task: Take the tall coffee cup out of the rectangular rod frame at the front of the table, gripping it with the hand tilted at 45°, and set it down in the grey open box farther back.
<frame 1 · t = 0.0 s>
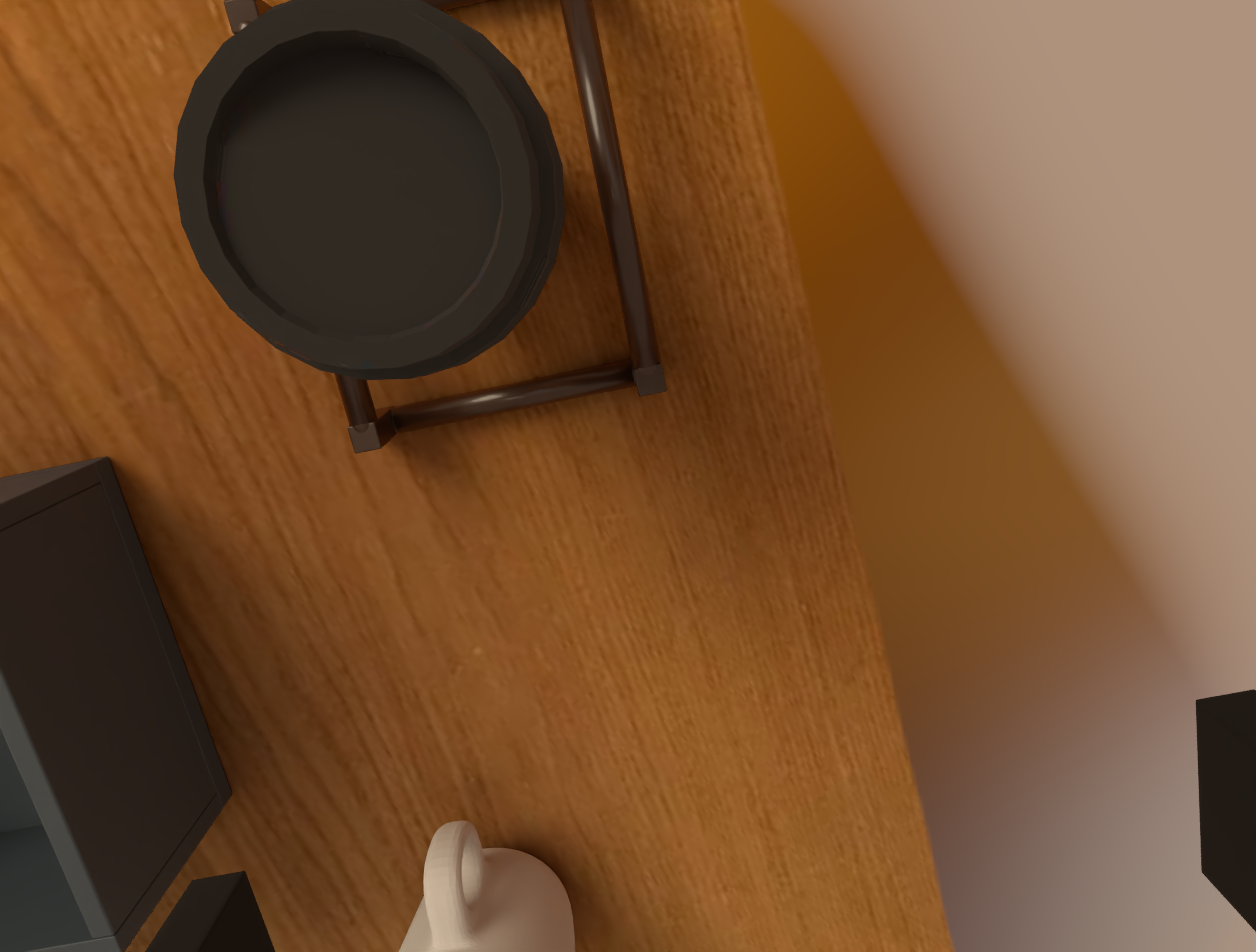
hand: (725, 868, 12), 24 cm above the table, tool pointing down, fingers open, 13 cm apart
coffee cup: (472, 209, 33), on the table
cup: (493, 868, 40), on the table
rectangular rod frame: (471, 209, 33), on the table
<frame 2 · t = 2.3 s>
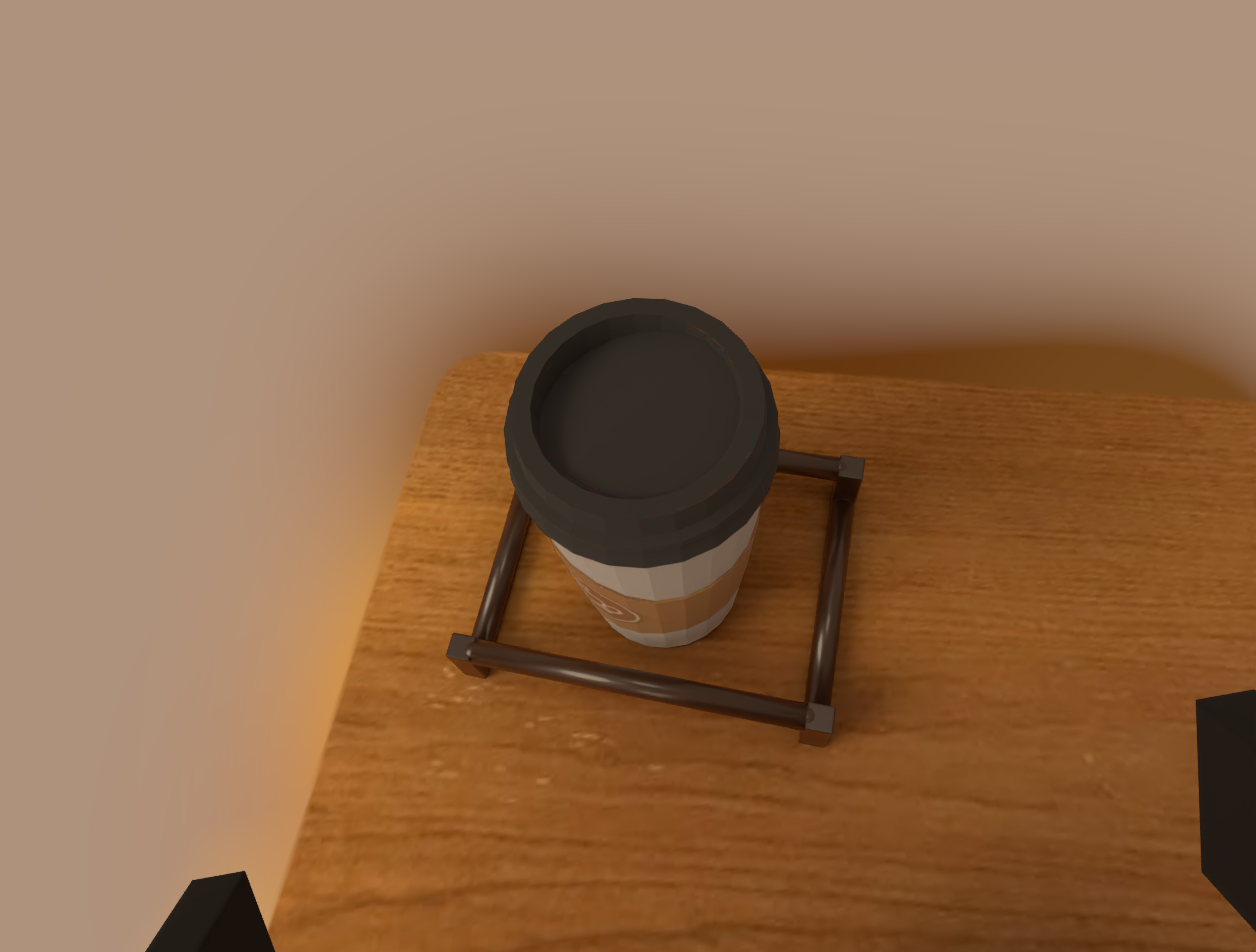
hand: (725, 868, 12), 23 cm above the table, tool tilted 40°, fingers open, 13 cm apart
coffee cup: (665, 580, 39), on the table
rectangular rod frame: (665, 579, 39), on the table
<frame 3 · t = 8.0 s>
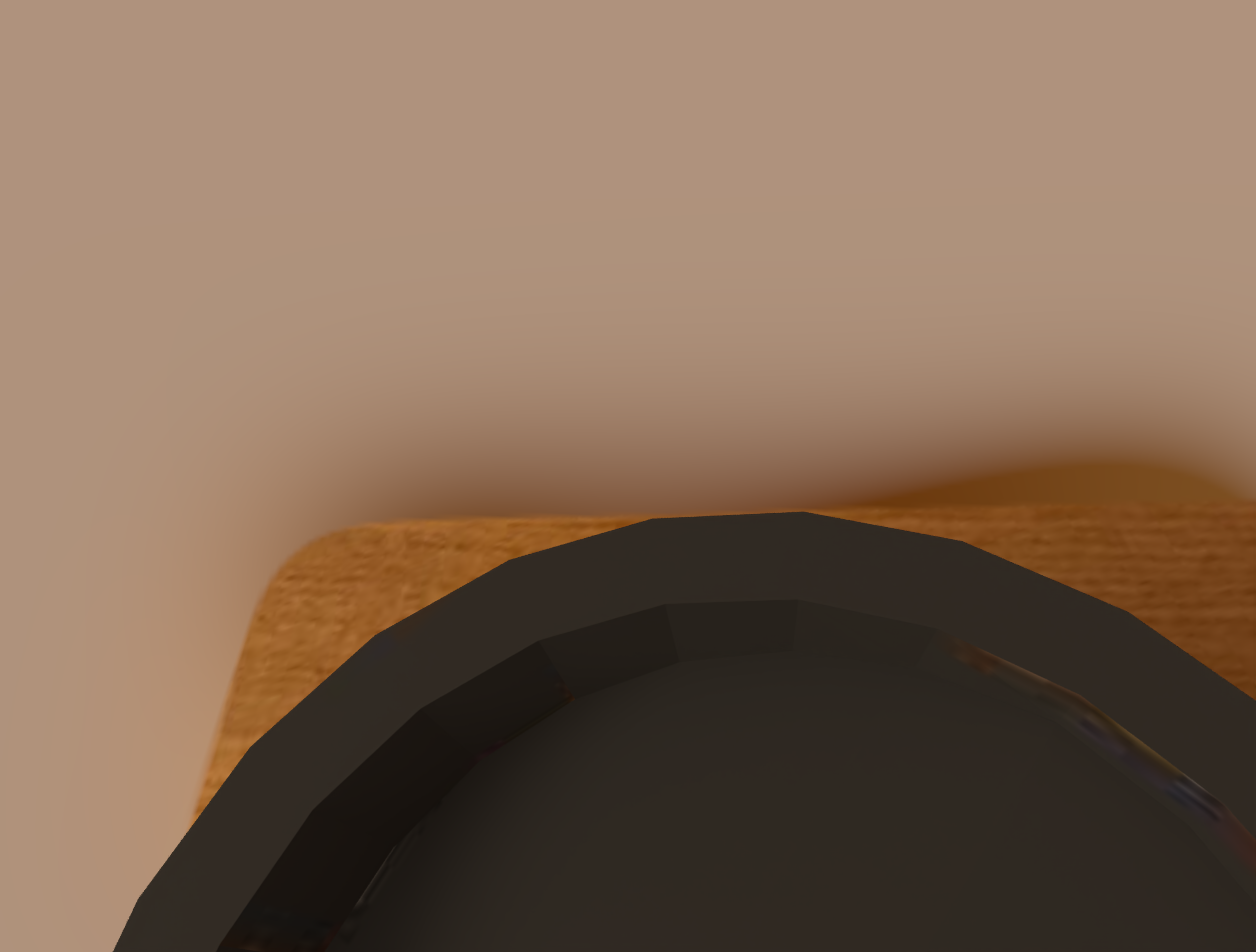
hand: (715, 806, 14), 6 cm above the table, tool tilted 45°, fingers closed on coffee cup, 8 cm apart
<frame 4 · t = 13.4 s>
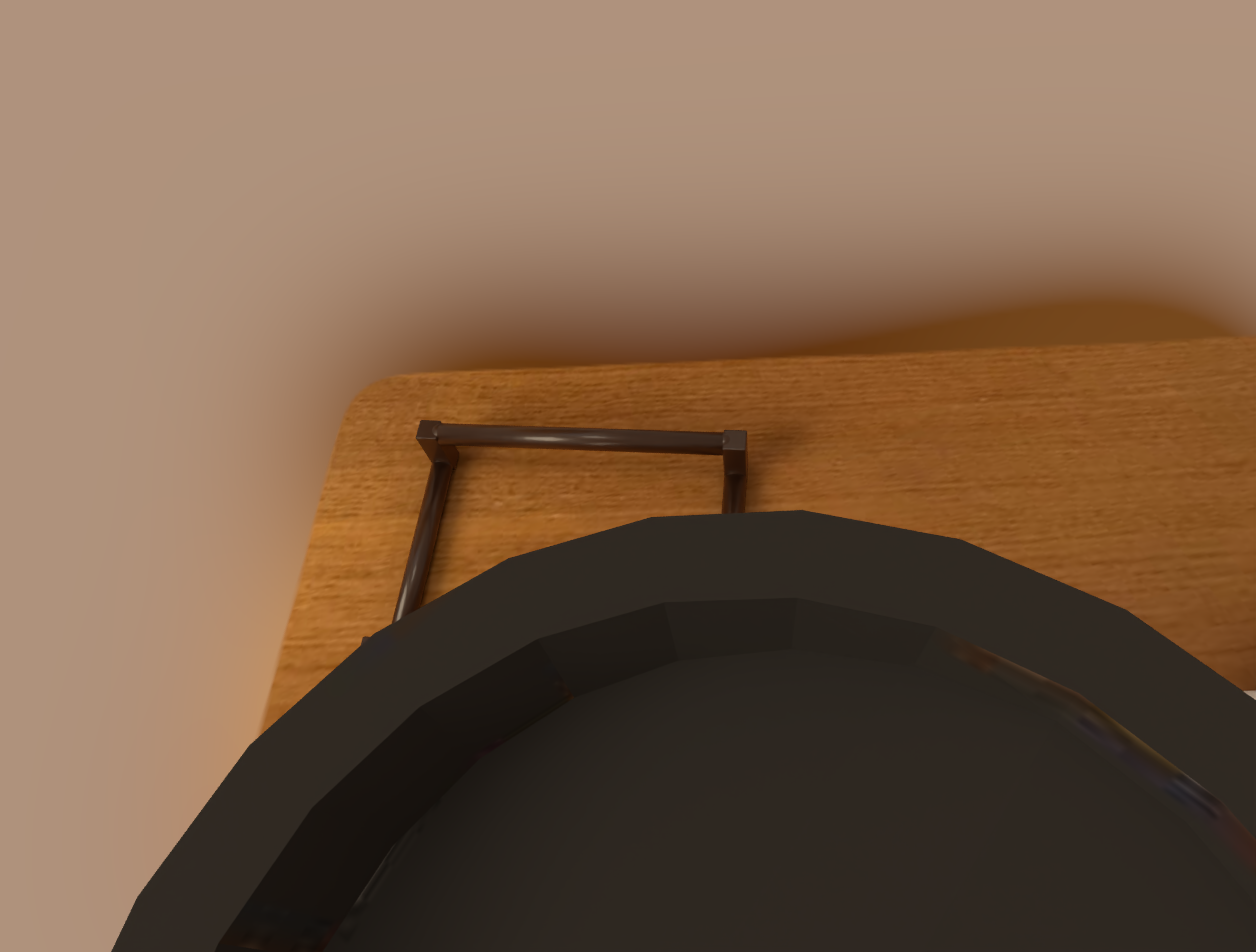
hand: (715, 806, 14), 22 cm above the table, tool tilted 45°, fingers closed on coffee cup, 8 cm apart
rectangular rod frame: (572, 568, 40), on the table
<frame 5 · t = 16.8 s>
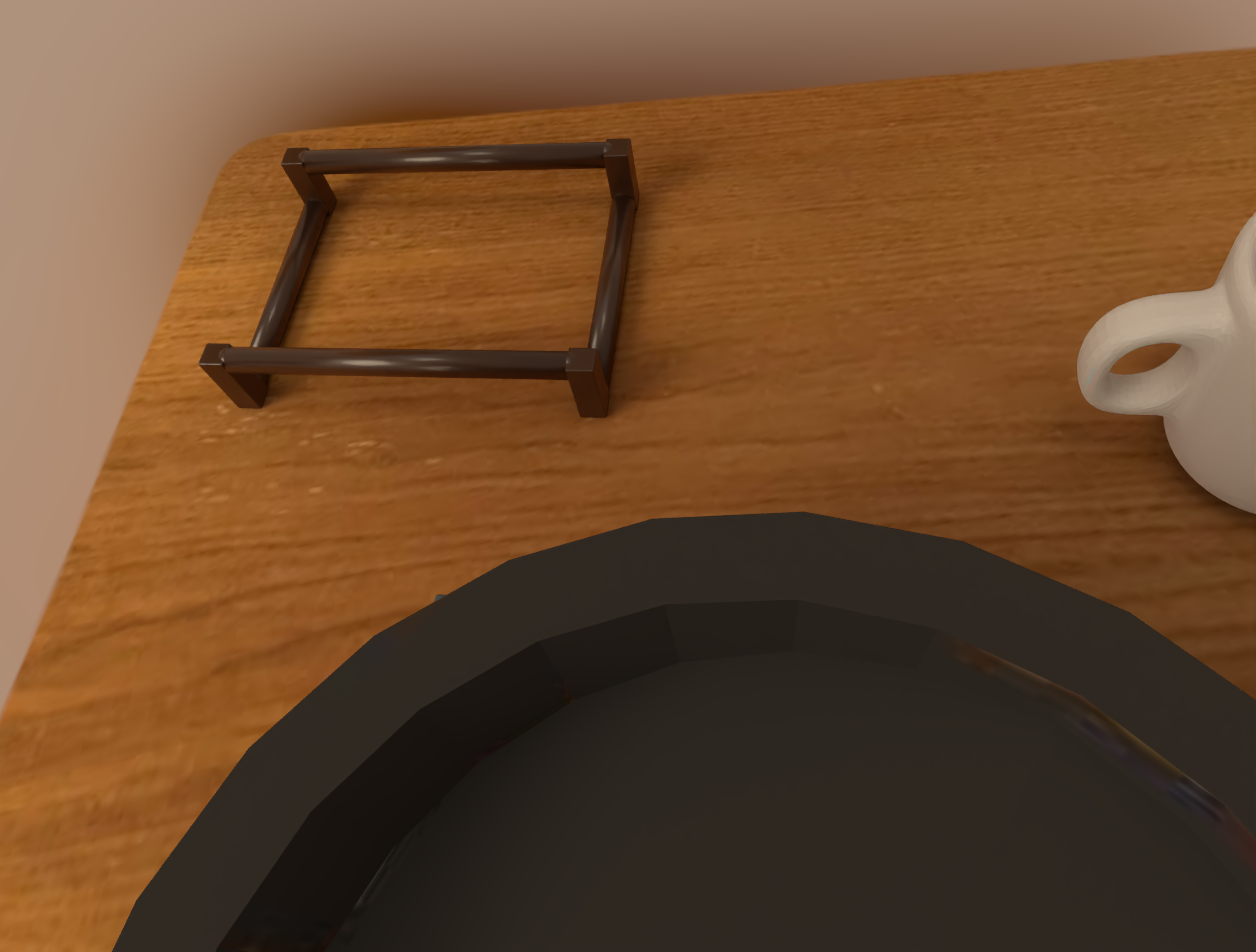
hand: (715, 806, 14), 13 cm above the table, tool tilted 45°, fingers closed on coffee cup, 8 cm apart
cup: (1211, 444, 30), on the table
rectangular rod frame: (446, 297, 37), on the table
when the fingers open (8 cm above the table, at t = 19.8 s): coffee cup stays where it is, resting on grey open box.
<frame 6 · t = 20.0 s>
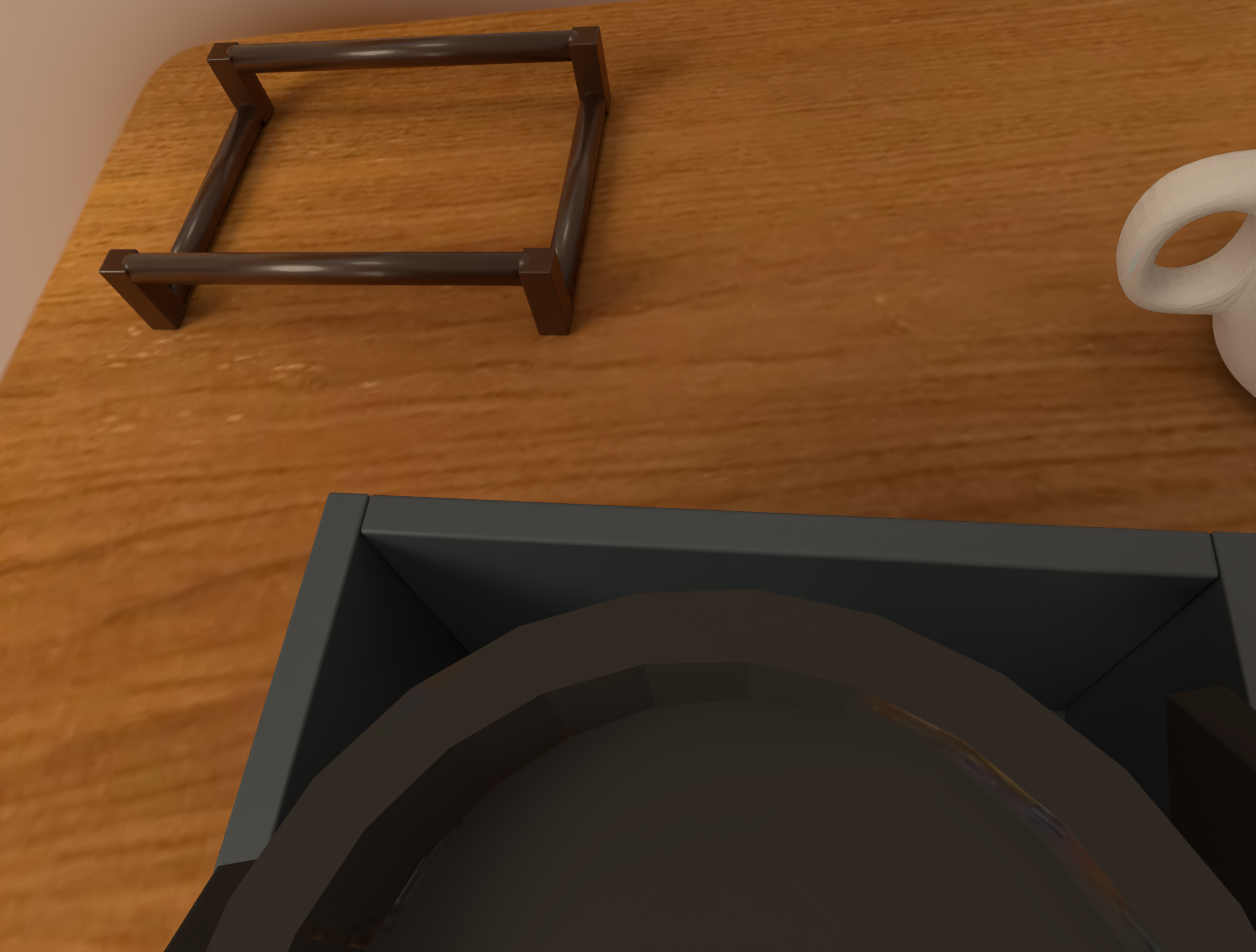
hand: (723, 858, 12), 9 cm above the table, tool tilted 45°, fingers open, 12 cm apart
rectangular rod frame: (391, 208, 33), on the table
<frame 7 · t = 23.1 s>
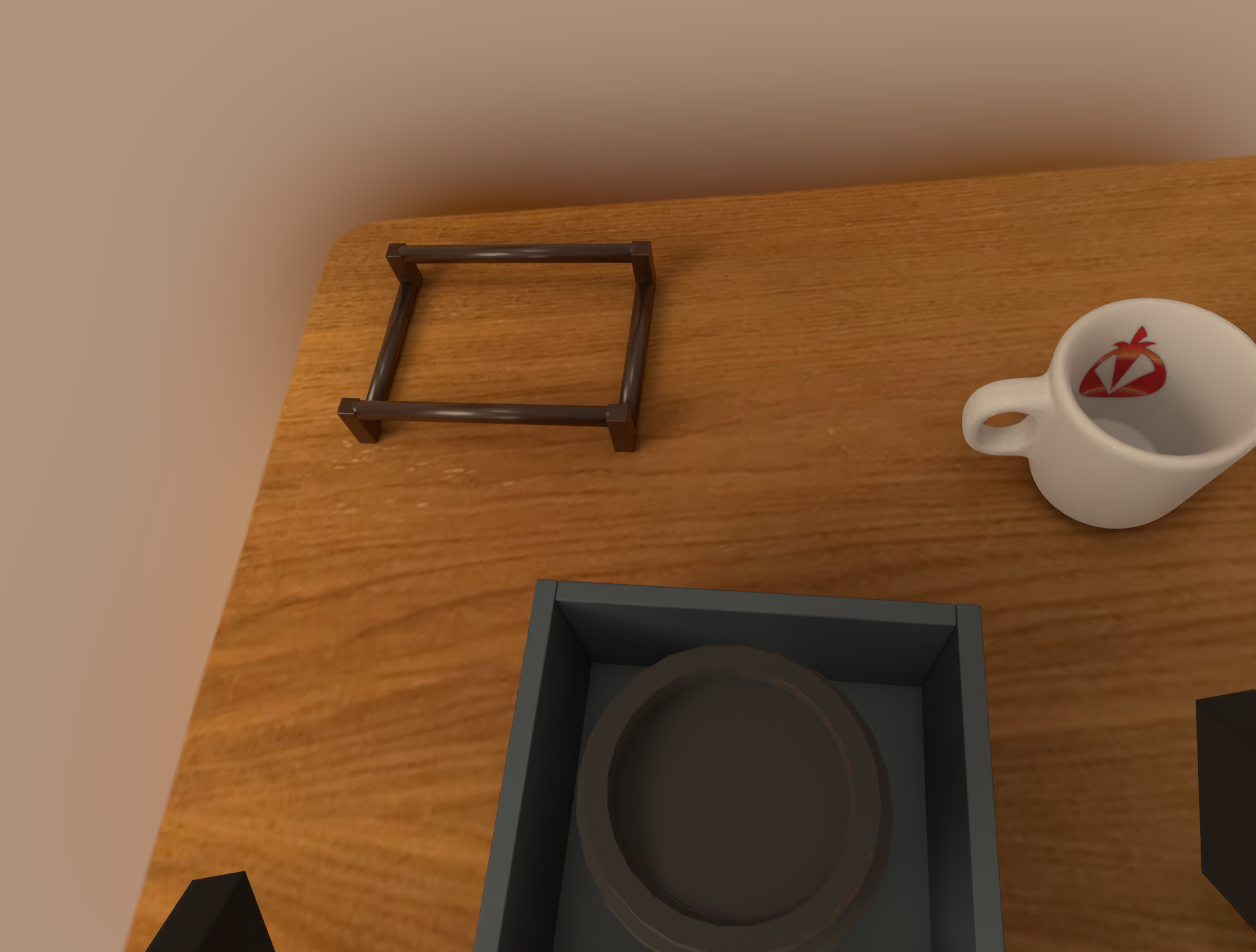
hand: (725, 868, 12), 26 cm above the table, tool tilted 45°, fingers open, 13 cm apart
coffee cup: (743, 852, 35), point 1 cm above the table, touching grey open box
cup: (1064, 474, 42), on the table
grey open box: (743, 852, 36), on the table
rectangular rod frame: (512, 358, 49), on the table
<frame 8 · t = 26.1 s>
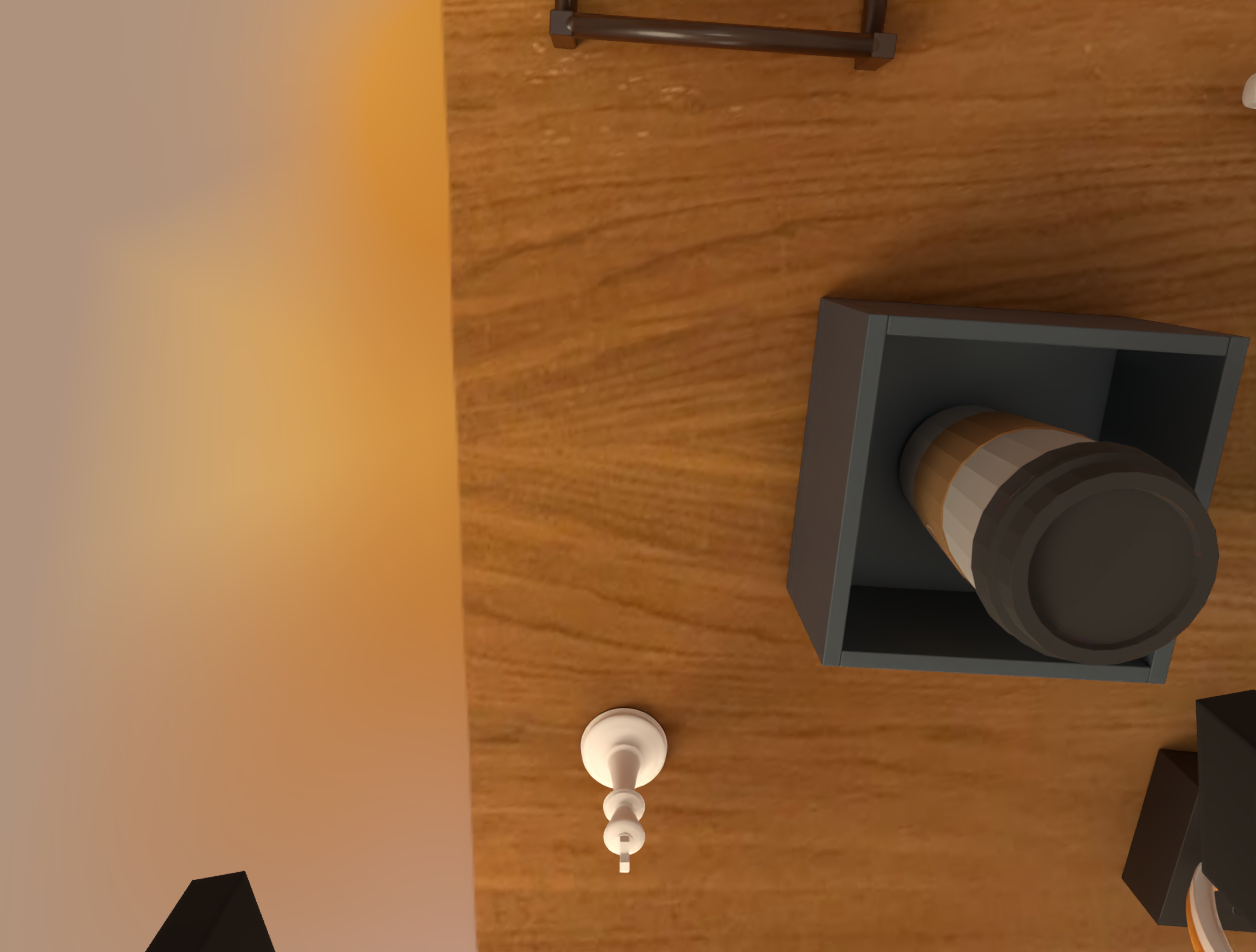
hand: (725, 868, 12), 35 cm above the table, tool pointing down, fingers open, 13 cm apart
coffee cup: (956, 463, 46), point 1 cm above the table, touching grey open box
grey open box: (950, 458, 47), on the table
chess piece: (623, 744, 51), on the table
lamp: (1209, 818, 53), on the table
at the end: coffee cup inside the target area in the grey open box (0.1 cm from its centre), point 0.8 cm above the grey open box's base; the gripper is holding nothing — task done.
